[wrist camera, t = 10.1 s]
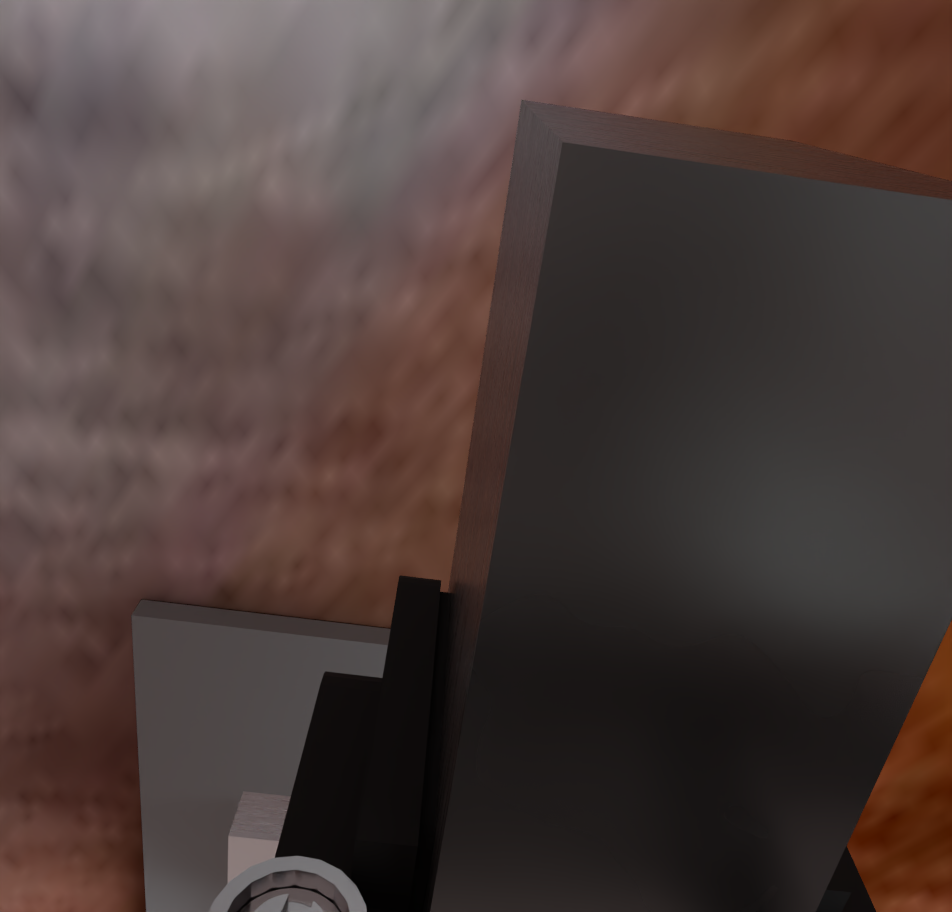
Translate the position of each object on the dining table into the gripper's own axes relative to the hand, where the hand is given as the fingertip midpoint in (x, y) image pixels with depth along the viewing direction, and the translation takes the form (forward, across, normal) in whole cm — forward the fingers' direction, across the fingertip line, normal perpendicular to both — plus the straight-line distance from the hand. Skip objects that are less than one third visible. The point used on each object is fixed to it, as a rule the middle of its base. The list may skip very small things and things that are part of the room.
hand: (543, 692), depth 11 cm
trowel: (+1, 0, +3) cm, 3 cm away
